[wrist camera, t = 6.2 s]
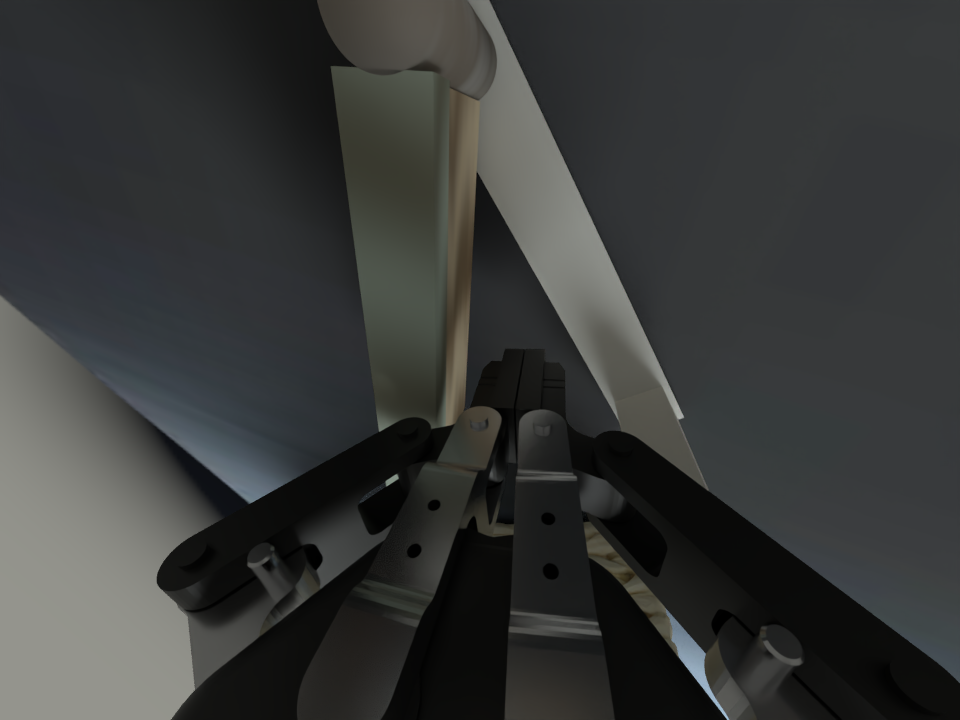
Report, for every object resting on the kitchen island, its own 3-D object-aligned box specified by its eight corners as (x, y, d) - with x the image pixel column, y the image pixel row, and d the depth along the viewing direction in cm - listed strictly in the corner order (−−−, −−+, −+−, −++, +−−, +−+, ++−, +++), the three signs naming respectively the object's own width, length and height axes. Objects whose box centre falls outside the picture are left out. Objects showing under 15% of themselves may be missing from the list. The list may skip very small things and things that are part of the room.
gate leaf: (432, 17, 11) (301, -109, 5) (499, 20, 11) (438, -110, 5) (435, 407, 20) (387, 516, 14) (473, 413, 20) (439, 526, 14)
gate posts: (374, -20, 12) (87, -270, 5) (442, -101, 11) (194, -623, 3) (623, 422, 20) (663, 588, 13) (678, 405, 19) (757, 578, 12)
